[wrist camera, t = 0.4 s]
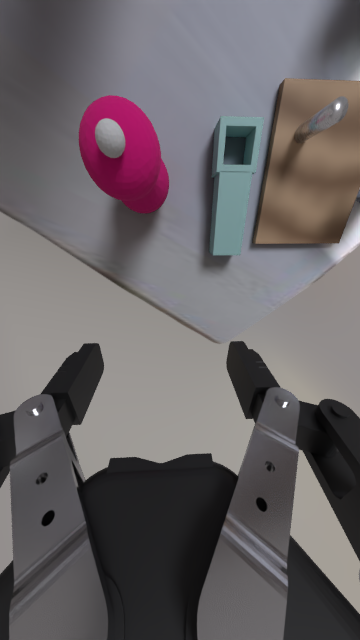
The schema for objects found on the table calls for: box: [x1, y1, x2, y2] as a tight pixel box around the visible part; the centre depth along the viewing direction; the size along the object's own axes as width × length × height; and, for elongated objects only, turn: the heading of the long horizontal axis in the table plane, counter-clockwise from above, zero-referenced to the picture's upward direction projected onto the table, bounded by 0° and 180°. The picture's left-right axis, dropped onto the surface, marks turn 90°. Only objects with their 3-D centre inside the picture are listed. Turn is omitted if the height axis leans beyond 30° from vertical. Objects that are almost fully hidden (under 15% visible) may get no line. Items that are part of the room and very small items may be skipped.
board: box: [253, 78, 360, 244], centre depth 28 cm, size 19×15×1 cm
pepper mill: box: [79, 95, 169, 213], centre depth 20 cm, size 7×7×20 cm
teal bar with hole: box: [209, 116, 264, 255], centre depth 28 cm, size 16×5×4 cm, turn 0°
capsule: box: [294, 96, 348, 144], centre depth 23 cm, size 2×2×8 cm
